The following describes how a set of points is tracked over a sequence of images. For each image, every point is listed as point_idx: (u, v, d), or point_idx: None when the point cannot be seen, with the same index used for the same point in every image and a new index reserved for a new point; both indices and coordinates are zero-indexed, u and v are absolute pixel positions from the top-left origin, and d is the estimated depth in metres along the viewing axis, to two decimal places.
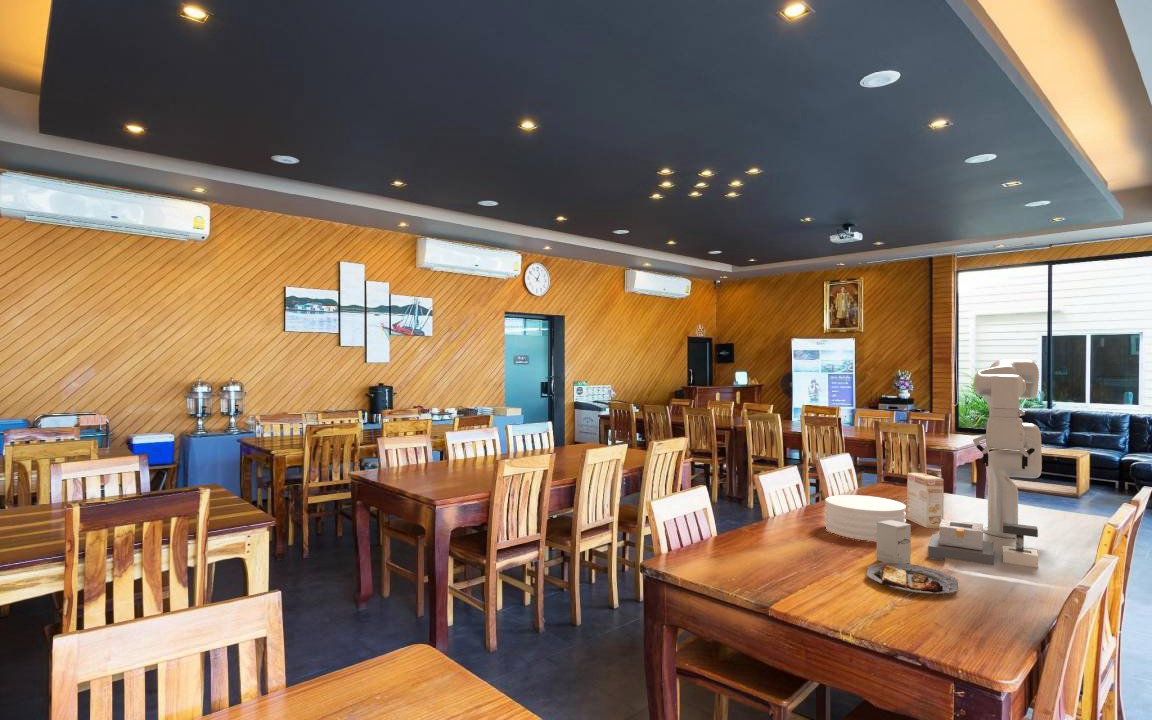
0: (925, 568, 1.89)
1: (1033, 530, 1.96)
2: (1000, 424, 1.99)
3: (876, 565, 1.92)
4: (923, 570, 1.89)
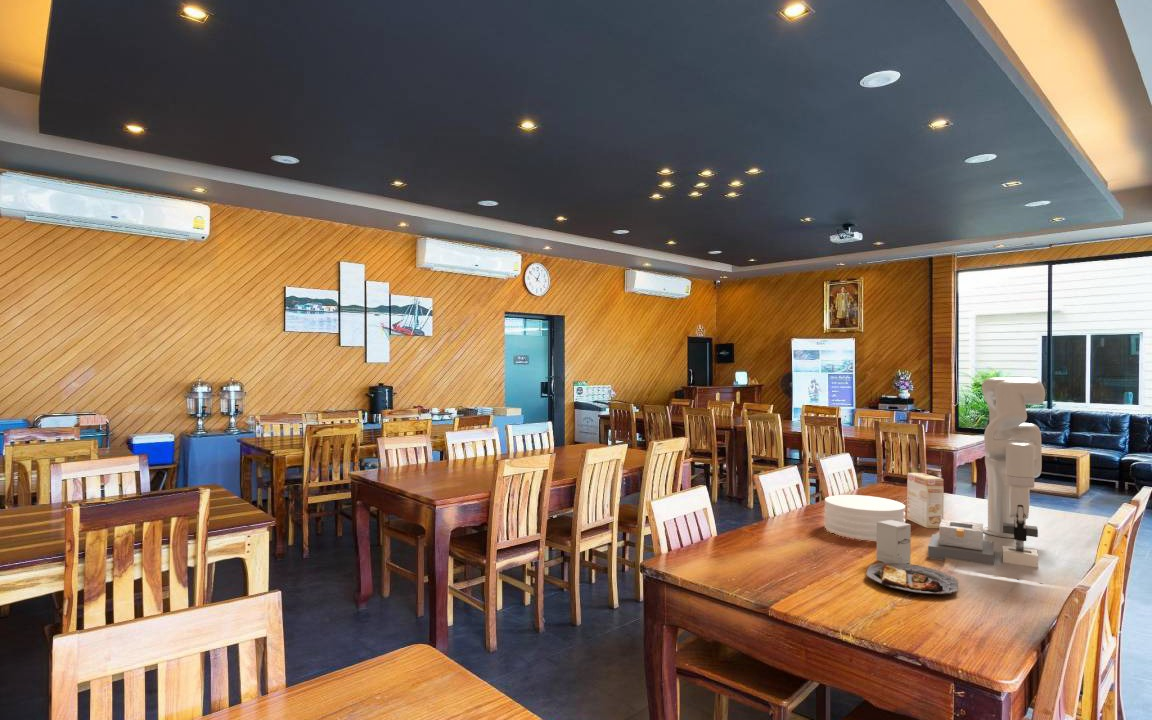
0: (925, 568, 1.89)
1: (1033, 530, 1.96)
2: (1029, 493, 1.98)
3: (876, 565, 1.92)
4: (923, 570, 1.89)
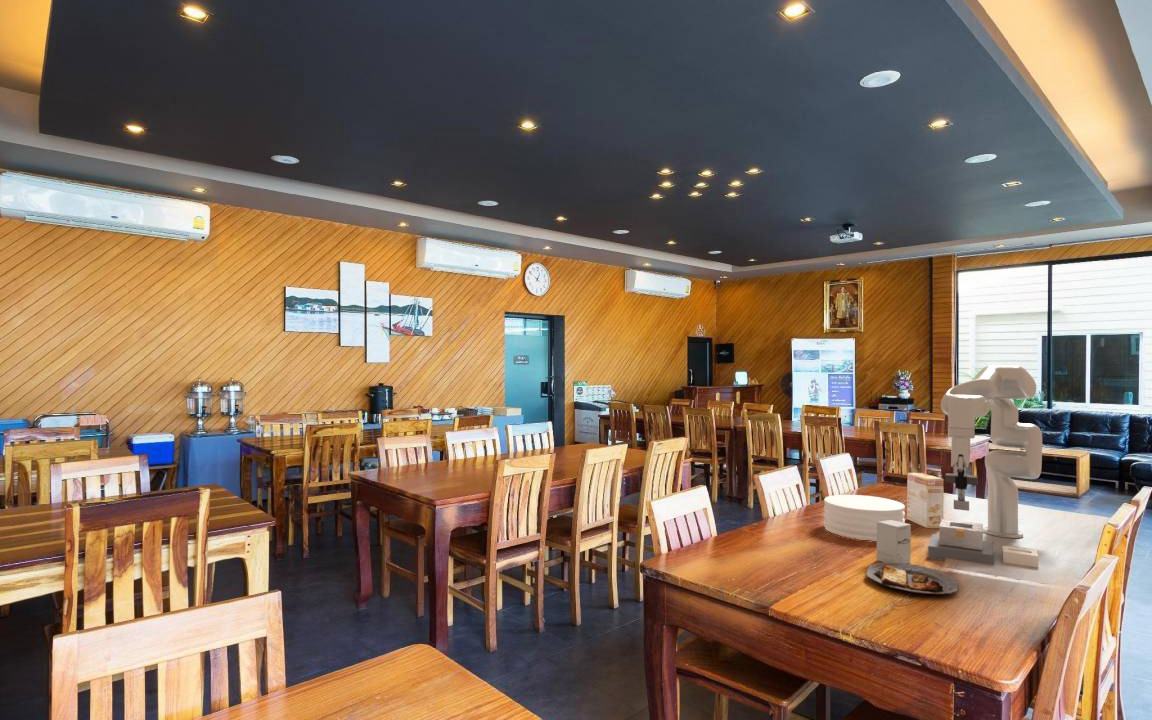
0: (925, 568, 1.89)
1: (973, 478, 2.05)
2: (969, 443, 2.07)
3: (876, 565, 1.92)
4: (923, 570, 1.89)
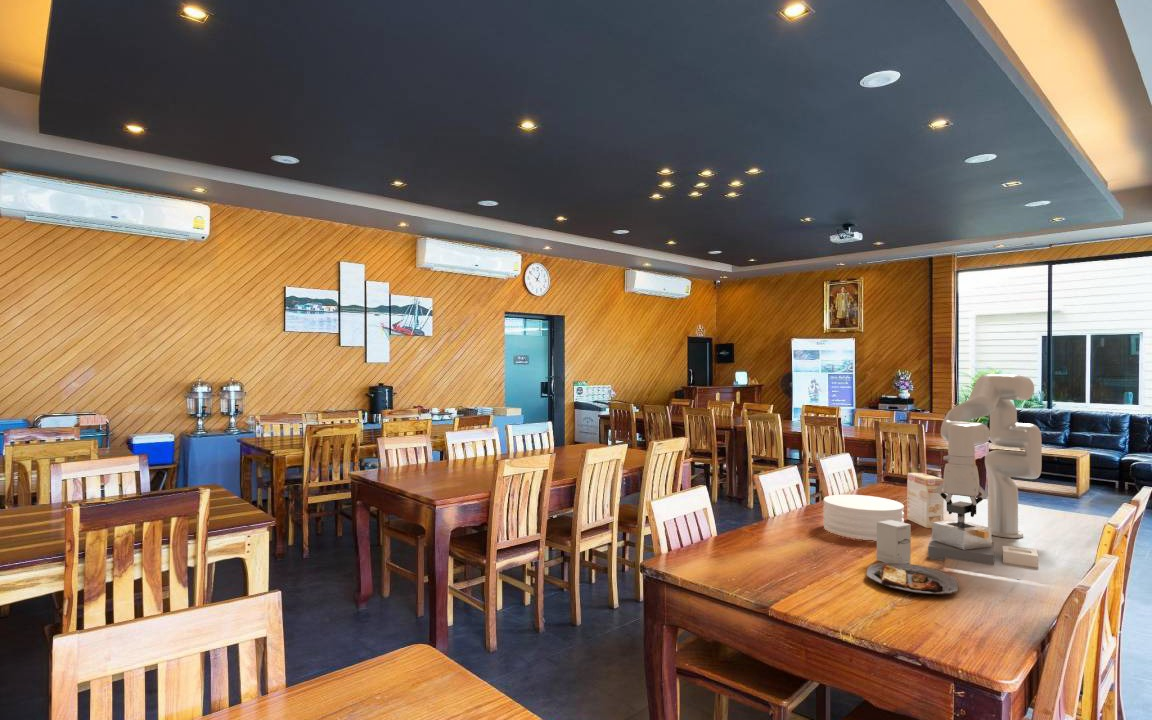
0: (925, 568, 1.90)
1: None
2: None
3: (876, 565, 1.92)
4: (923, 570, 1.89)
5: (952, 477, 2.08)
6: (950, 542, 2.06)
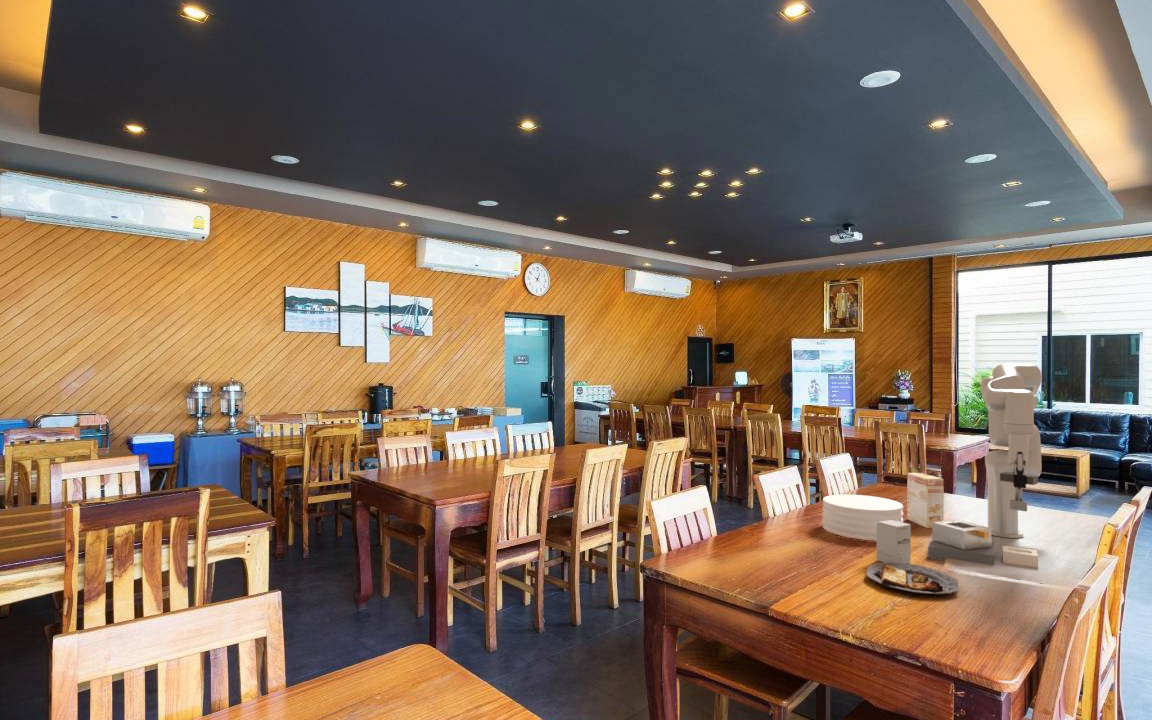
0: (925, 568, 1.90)
1: (1029, 478, 1.96)
2: None
3: (876, 565, 1.92)
4: (923, 570, 1.89)
5: None
6: (950, 542, 2.06)
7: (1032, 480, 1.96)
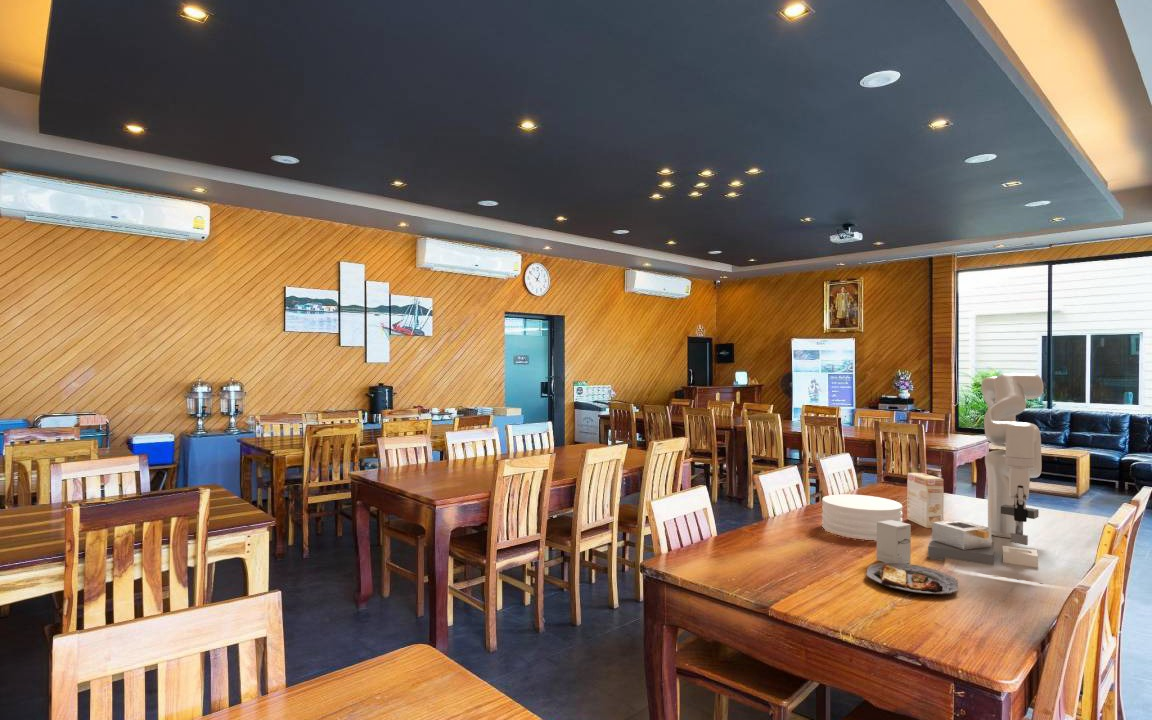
0: (925, 568, 1.90)
1: (1029, 512, 1.96)
2: (1029, 474, 1.98)
3: (876, 565, 1.92)
4: (923, 570, 1.89)
5: None
6: (950, 542, 2.06)
7: (1033, 514, 1.95)
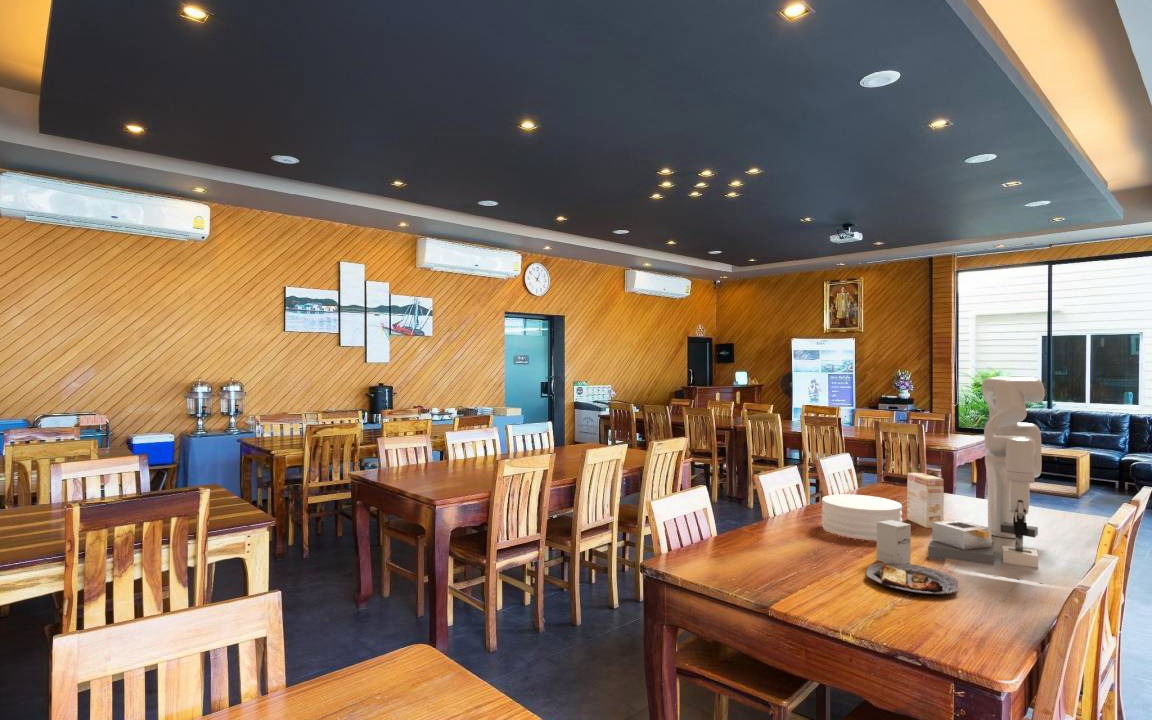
0: (925, 568, 1.90)
1: (1030, 530, 1.96)
2: (1029, 488, 1.98)
3: (876, 565, 1.92)
4: (923, 570, 1.89)
5: None
6: (950, 542, 2.06)
7: (1033, 532, 1.95)
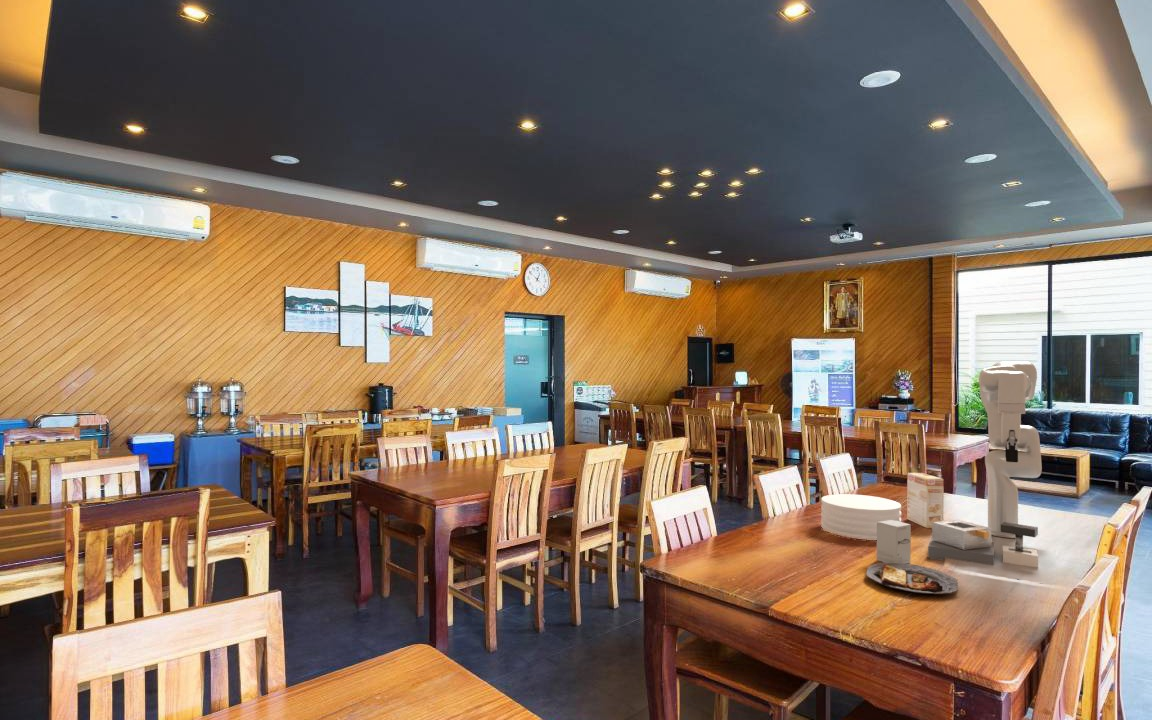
0: (925, 568, 1.90)
1: (1030, 530, 1.96)
2: (1020, 419, 2.06)
3: (876, 565, 1.92)
4: (923, 570, 1.89)
5: None
6: (950, 542, 2.06)
7: (1034, 532, 1.95)
